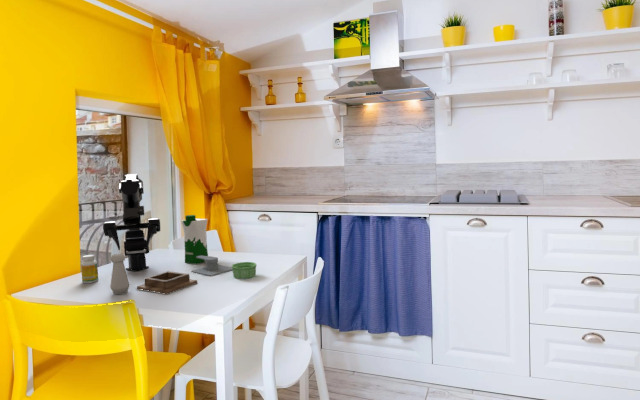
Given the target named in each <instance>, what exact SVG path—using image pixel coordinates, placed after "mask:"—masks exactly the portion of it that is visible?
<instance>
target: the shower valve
mask: <svg viewBox="0 0 640 400" xmlns="http://www.w3.org/2000/svg"><path fill="white" fill-rule="evenodd" d="M196 258H199V259H203V260H204V261H205V262H204V263H205V266H204V267H200V268H197V269H192V270H190V272H191V273H192V272H193V274H196V273H197V275H203V276H207V277H214V276H217V275H221V274H225V273H229V272H231V271H232V272H233V269H232V266H226V265H221V264H219V263H218V262H219V258H218V257H216V256H209V255H208V256H202V255H201V256H197V257H196Z"/></svg>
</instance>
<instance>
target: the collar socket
mask: <svg viewBox="0 0 640 400" xmlns="http://www.w3.org/2000/svg"><path fill="white" fill-rule="evenodd" d="M143 281H144V284H140V285H137V286H136V289H137V290H138V289H143V290H142V291H144V290H149V291H148V292H150V291H155V292H154V293H156V292H160V293H159V294H162V293H165V294H164V295H168V294H167V293H169V294H171V293H173V291H174V292H177V291H178V290H179V289H180V290H182V289H184V288H189V287H190V286H194V285H195V284H198V280H196V279H190V274H189V273H184V272H178V271H177V272H176V271H171V270H170V271H169V270H167V271H164V272H161V273H157V274H155V275H151V276H148V277H145V278H144V280H143ZM176 290H177V291H176ZM170 292H171V293H170Z"/></svg>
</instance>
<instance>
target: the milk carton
mask: <svg viewBox="0 0 640 400" xmlns="http://www.w3.org/2000/svg"><path fill="white" fill-rule="evenodd" d="M180 222H181V226H182V229H183V242H184V263H187V264H192V265H198V264H202V263H205V261H204V260H203V259H199V258H196V257H197V256H201V255H202V256H209V253H208V242H207V224H208V218H196V214H189V215H185V219H182V220H181V221H180Z"/></svg>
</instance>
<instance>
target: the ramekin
mask: <svg viewBox="0 0 640 400" xmlns="http://www.w3.org/2000/svg"><path fill="white" fill-rule="evenodd" d="M231 267H232V269H233V270H232V275H233V278H234V279H237V280H248V279H253V278H255V276H256V273H257V272H256V271H257V263H256V262H253V261H243V262H241V261H240V262H236V263H234V264H232V265H231Z"/></svg>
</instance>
